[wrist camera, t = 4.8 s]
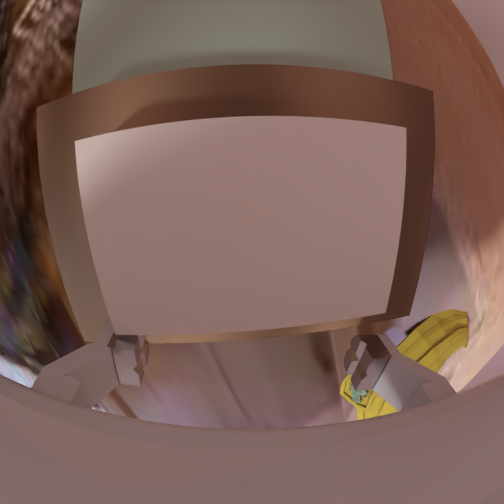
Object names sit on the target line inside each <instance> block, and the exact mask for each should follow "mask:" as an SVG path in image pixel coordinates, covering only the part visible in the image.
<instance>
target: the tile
mask: <svg viewBox="0 0 504 504" xmlns="http://www.w3.org/2000/svg"><path fill="white" fill-rule="evenodd" d="M75 153H76V164H77V174H78V182H79V190H80V197H81V203H82V210H83V215H84V221H85V226H86V231H87V236H88V241H89V245H90V250H91V254H92V258H93V262H94V266H95V270H96V274H97V278H98V281H99V285H100V288H101V292H102V295H103V298H104V302H105V305H106V308H107V311H108V314H109V317H110V320H111V323H112V326H113V329H114V331H115V334H116V335H185V334H209V333H227V332H242V331H254V330H266V329H276V328H286V327H295V326H303V325H311V324H319V323H326V322H333V321H340V320H347V319H353V318H359V317H365V316H371V315H377V314H382V313H386V309H387V304H388V300H389V295H390V291H391V286H392V281H393V276H394V270H395V265H396V259H397V253H398V246H399V239H400V231H401V223H402V214H403V204H404V192H405V176H406V128H405V127H400V126H394V125H387V124H380V123H373V122H365V121H357V120H347V119H336V118H322V117H302V116H241V117H222V118H208V119H196V120H186V121H178V122H170V123H162V124H155V125H149V126H143V127H137V128H131V129H126V130H121V131H116V132H111V133H106V134H102V135H98V136H93V137H89V138H85V139H81V140H77V141H75Z"/></svg>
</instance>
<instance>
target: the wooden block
mask: <svg viewBox="0 0 504 504" xmlns="http://www.w3.org/2000/svg"><path fill="white" fill-rule="evenodd" d="M241 116H302V117H322V118H336V119H347V120H357V121H365V122H373V123H380V124H387V125H394V126H400V127H405V128H406V176H405V192H404V204H403V214H402V223H401V231H400V239H399V246H398V253H397V259H396V265H395V270H394V276H393V281H392V286H391V291H390V295H389V300H388V304H387V309H386V313H382V314H377V315H371V316H365V317H359V318H353V319H347V320H340V321H333V322H326V323H319V324H311V325H303V326H295V327H286V328H276V329H266V330H254V331H242V332H227V333H209V334H185V335H147V336H146V340H147V341H148V343H194V342H216V341H233V340H247V339H259V338H269V337H279V336H288V335H297V334H305V333H313V332H320V331H327V330H334V329H340V328H346V327H352V326H358V325H364V324H369V323H375V322H380V321H385V320H390V319H395V318H399V317H404V316H409V315H410V311H411V307H412V304H413V300H414V296H415V292H416V288H417V284H418V280H419V275H420V271H421V266H422V261H423V256H424V250H425V245H426V239H427V232H428V225H429V218H430V210H431V201H432V190H433V176H434V153H435V125H434V102H433V91H430V90H427V89H423V88H420V87H417V86H413V85H409V84H406V83H402V82H398V81H394V80H390V79H386V78H381V77H376V76H371V75H366V74H361V73H355V72H349V71H343V70H336V69H328V68H319V67H308V66H295V65H274V64H238V65H217V66H204V67H194V68H185V69H177V70H170V71H163V72H157V73H151V74H146V75H141V76H136V77H131V78H127V79H122V80H118V81H114V82H110V83H106V84H103V85H99V86H96V87H92V88H89V89H86V90H82V91H79V92H76V93H73V94H70V95H67V96H64V97H62V98H59V99H56V100H54V101H51V102H48V103H46V104H44V105H41V106H39V107H37V147H38V160H39V171H40V179H41V187H42V194H43V200H44V206H45V212H46V217H47V222H48V227H49V232H50V236H51V241H52V245H53V249H54V253H55V257H56V260H57V264H58V267H59V271H60V274H61V278H62V281H63V284H64V287H65V290H66V293H67V296H68V299H69V302H70V305H71V307H72V310H73V313H74V315H75V318H76V321H77V323H78V326H79V328H80V330H81V333H82V335H83V338H84V340H85V341H93V342H94V341H95V340H96V338H97V336H98V334H99V332H100V331H101V329H102V327H103V325H104V324H105V322H106V320H107V319H109V318H110V317H109V314H108V311H107V308H106V305H105V302H104V298H103V295H102V292H101V288H100V285H99V281H98V278H97V274H96V270H95V266H94V262H93V258H92V254H91V250H90V245H89V241H88V236H87V231H86V226H85V221H84V215H83V210H82V203H81V197H80V190H79V182H78V174H77V164H76V153H75V141H77V140H81V139H85V138H89V137H93V136H98V135H102V134H106V133H111V132H116V131H121V130H126V129H131V128H137V127H143V126H149V125H155V124H162V123H170V122H178V121H186V120H196V119H208V118H222V117H241Z"/></svg>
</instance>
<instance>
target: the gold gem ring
mask: <svg viewBox="0 0 504 504" xmlns="http://www.w3.org/2000/svg"><path fill="white" fill-rule="evenodd" d="M468 337H469V330H468V318H467V313H466V312H462V311H459V310H453V309H452V310H447V311H444V312H440V313H437V314H434V315H432V316H430V317H429V318H428V319H426V320H425V321H424V322H423V323H421V324H420V325H419V326H418V327H416V328H415V329H414V330H413V331H412V332H411V333H410V334H409V335H408V336H407V337H406V338H405V339H404V340H403V341H402V342H401V343H400V344H399V345H398V346H397V347H396V348H397V349H398V350H399V352H400V353H401V354H402V356H407V357H408V358H410V359H412V360H414V361H416V362H418V363H419V364H421V365H423V366H425V367H427V368H428V369H430V370H432V371H434V372H436V373H437V372H438V371H439V370H440V368H441V367H442V365H443V364H444V362H445V361H446V359H447V358H448V357H449V356H450V355H451V354H452V353H453V352H454V351H455V350H456V349H457V350H458V349H459V348H460V347H462V346H464V347H465V348H466V347H467V344H468ZM457 350H456V351H457ZM455 353H456V352H455ZM351 377H352V376H351V375H350V374H349V375H348V376H347V377H346V378H345V379H344V380H343V382H342V386H341V389H340V394H341V395H342V396H343V397H344V398H345V399H347V400H348V401H349V402H350V403H351V404H353V405H354V406H355V407H356V408H357V419H358V420H361V419H366V418H372V417H376V416H381V415H386V414H390V413H394V412H398V411H397V410H396V409H395V408H394V407H392V406H391V405H390V404H389V403H388V402H386V401H385V400H384V399H383V398H382V397H380V396H379V395H378V394H377V393H376V392H374V391H373V389H370V390H360V391H355V388H354V386H353V384H352V382H351V380H350V379H351Z"/></svg>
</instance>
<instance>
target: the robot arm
mask: <svg viewBox="0 0 504 504" xmlns="http://www.w3.org/2000/svg"><path fill="white" fill-rule="evenodd" d="M146 336H147V335H116V334H115V331H114V329H113V326H112V323H111V320H110V318H109V319H107V320H106V322H105V324H104V325H103V327H102V329H101V331H100V332H99V334H98V336H97V338H96V340H95V341H94V343H93V344H92V343H89V344H87V345H85V346H83V347H81V348H79V349H77V350H76V351H74V352H72V353H70V354H68V355H66V356H64V357H62V358H60V359H58V360H56V361H54V362H52V363H50V364H49V365H47V366H45V367H43V369H42V371H41V372H40V374H39V376H38V377H37V379H36V381H35V382H34V384H33V386H32V388H29V387H26V386H24V385H22V384H19V383H17V382H15V381H13V380H11V379H8V378H6V377H4V376H2V375H0V504H504V374H502V375H498V376H496V377H494V378H492V379H490V380H488V381H486V382H483V383H481V384H479V385H476V386H474V387H472V388H469V389H467V390H464V391H462V392H459V393H456V392H455V390H454V389H453V388H452V386H451V385H450V384H449V382H448V381H447V380H446V378H445V377H443V376H441V375H439V374H438V373H436V372H434V371H432V370H430V369H428V368H427V367H425V366H423V365H421V364H419V363H418V362H416V361H414V360H412V359H410V358H408V357H407V356H402V354H401V353H400V352H399V350H398V349H397V348H396V346H395V345H394V344H393V342H392V341H391V340H390V338H389V337H388V336H387V335H386V334H375V335H356V336H354V337H353V338H352V340H351V342H350V344H351V348H350V349H349V350H348V351H347V352H346V354H345V357H344V367H345V370H346V372H347V373H348V374H350V375H351V376H352V377H351V379H350V380H351V382H352V384H353V386H354V388H355V391H360V390H370V389H373V391H374V392H376V393H377V394H378V395H379V396H380V397H382V398H383V399H384V400H385V401H386V402H388V403H389V404H390V405H391V406H392V407H394V408H395V409H396V410H397V411H398V412H394V413H390V414H386V415H381V416H376V417H372V418H366V419H361V420H355V421H349V422H343V423H336V424H329V425H320V426H311V427H299V428H284V429H216V428H201V427H189V426H180V425H172V424H164V423H157V422H151V421H145V420H139V419H134V418H129V417H124V416H119V415H115V414H110V413H106V412H102V411H98V410H94V409H91V408H92V407H93V406H94V405H95V404H97V403H98V402H99V401H100V400H101V399H103V398H104V397H105V396H106V395H107V394H108V393H110V392H111V391H112V390H113V389H114V388H115V387H117V386H118V385H119V383H122V384H128V385H134V386H141V383H142V380H143V376H144V369H143V368H144V367H145V366H147V362H148V356H149V343H148V341H147V340H146Z"/></svg>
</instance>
